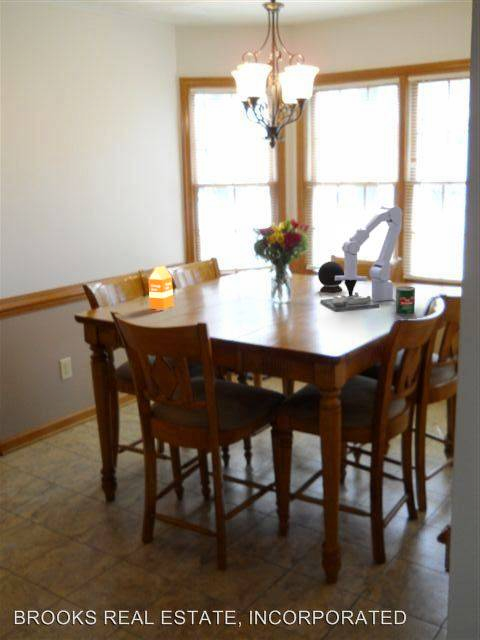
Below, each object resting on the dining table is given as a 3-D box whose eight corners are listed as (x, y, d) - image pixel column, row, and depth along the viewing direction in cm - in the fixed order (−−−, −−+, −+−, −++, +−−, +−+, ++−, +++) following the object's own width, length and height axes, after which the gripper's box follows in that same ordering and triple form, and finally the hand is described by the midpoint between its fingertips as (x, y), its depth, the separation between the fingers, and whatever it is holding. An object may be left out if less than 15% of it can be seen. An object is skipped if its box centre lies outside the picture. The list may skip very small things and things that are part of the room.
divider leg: (346, 303, 313) (346, 296, 312) (343, 302, 314) (343, 296, 314) (358, 298, 321) (358, 292, 320) (355, 298, 322) (355, 292, 321)
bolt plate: (362, 299, 328) (362, 287, 327) (379, 307, 310) (379, 295, 309) (320, 302, 324) (320, 291, 322) (335, 311, 306) (335, 299, 304)
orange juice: (174, 306, 328) (171, 265, 323) (164, 310, 320) (161, 268, 315) (159, 305, 331) (157, 264, 326) (150, 309, 323) (147, 267, 319)
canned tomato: (404, 316, 292) (404, 290, 289) (391, 312, 299) (392, 287, 296) (418, 313, 295) (419, 288, 293) (406, 310, 302) (406, 285, 300)
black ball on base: (348, 289, 352) (348, 260, 349) (337, 294, 342) (337, 264, 338) (325, 287, 359) (324, 259, 356) (313, 292, 349) (313, 262, 345)
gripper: (333, 268, 316) (333, 297, 319) (364, 268, 311) (364, 298, 314) (336, 265, 323) (336, 294, 326) (367, 266, 317) (367, 295, 320)
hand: (350, 296), depth 320 cm, fingers closed
